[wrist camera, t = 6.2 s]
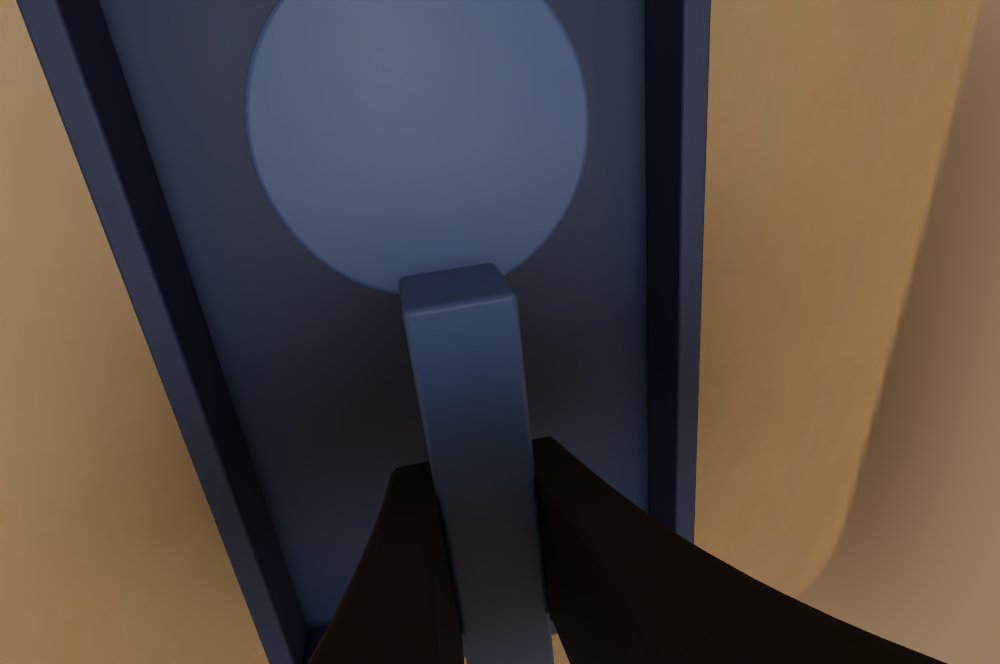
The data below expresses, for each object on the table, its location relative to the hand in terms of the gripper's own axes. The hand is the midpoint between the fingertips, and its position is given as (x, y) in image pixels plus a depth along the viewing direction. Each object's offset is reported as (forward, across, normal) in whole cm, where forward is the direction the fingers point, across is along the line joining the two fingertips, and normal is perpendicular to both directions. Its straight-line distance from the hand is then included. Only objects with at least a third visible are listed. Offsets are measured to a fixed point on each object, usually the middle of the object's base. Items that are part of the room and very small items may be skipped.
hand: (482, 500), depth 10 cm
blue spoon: (+2, 0, -2) cm, 3 cm away
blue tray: (+4, 0, -2) cm, 4 cm away
